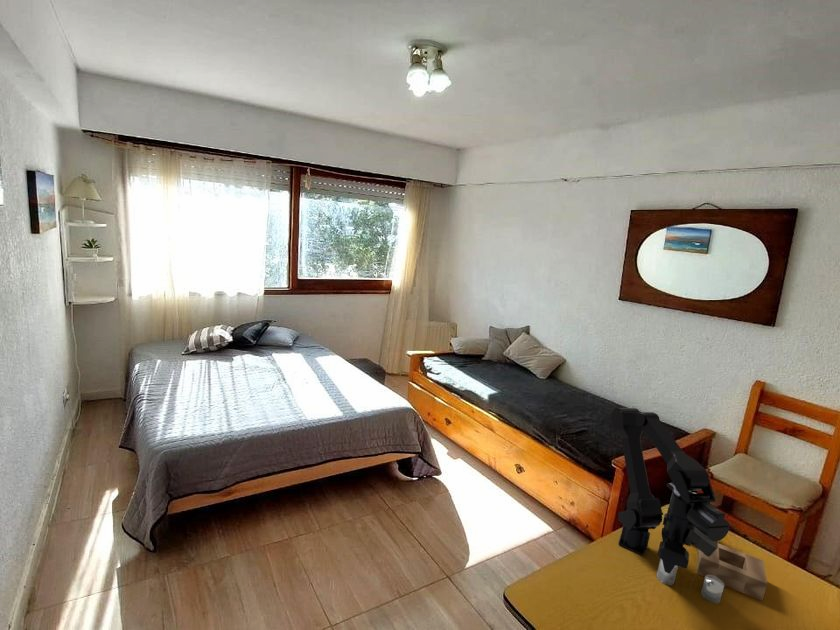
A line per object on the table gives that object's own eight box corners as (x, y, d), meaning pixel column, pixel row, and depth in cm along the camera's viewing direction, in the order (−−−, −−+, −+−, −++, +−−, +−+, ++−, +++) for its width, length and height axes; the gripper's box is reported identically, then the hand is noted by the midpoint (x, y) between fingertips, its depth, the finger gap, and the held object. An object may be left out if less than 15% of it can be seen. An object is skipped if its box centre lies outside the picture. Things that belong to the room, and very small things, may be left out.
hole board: (697, 573, 118) (701, 557, 117) (697, 552, 127) (701, 536, 126) (762, 601, 111) (767, 583, 110) (758, 576, 120) (763, 560, 119)
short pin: (701, 597, 110) (705, 581, 109) (701, 587, 114) (705, 572, 113) (720, 606, 108) (724, 590, 107) (719, 595, 112) (724, 580, 111)
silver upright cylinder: (655, 579, 115) (663, 549, 113) (657, 570, 118) (664, 540, 116) (673, 587, 113) (681, 556, 111) (674, 578, 116) (682, 547, 114)
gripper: (720, 548, 100) (704, 608, 103) (718, 508, 115) (704, 561, 118) (664, 526, 105) (650, 583, 108) (669, 491, 121) (657, 542, 124)
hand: (667, 567), depth 115 cm, fingers closed on silver upright cylinder, 4 cm apart
